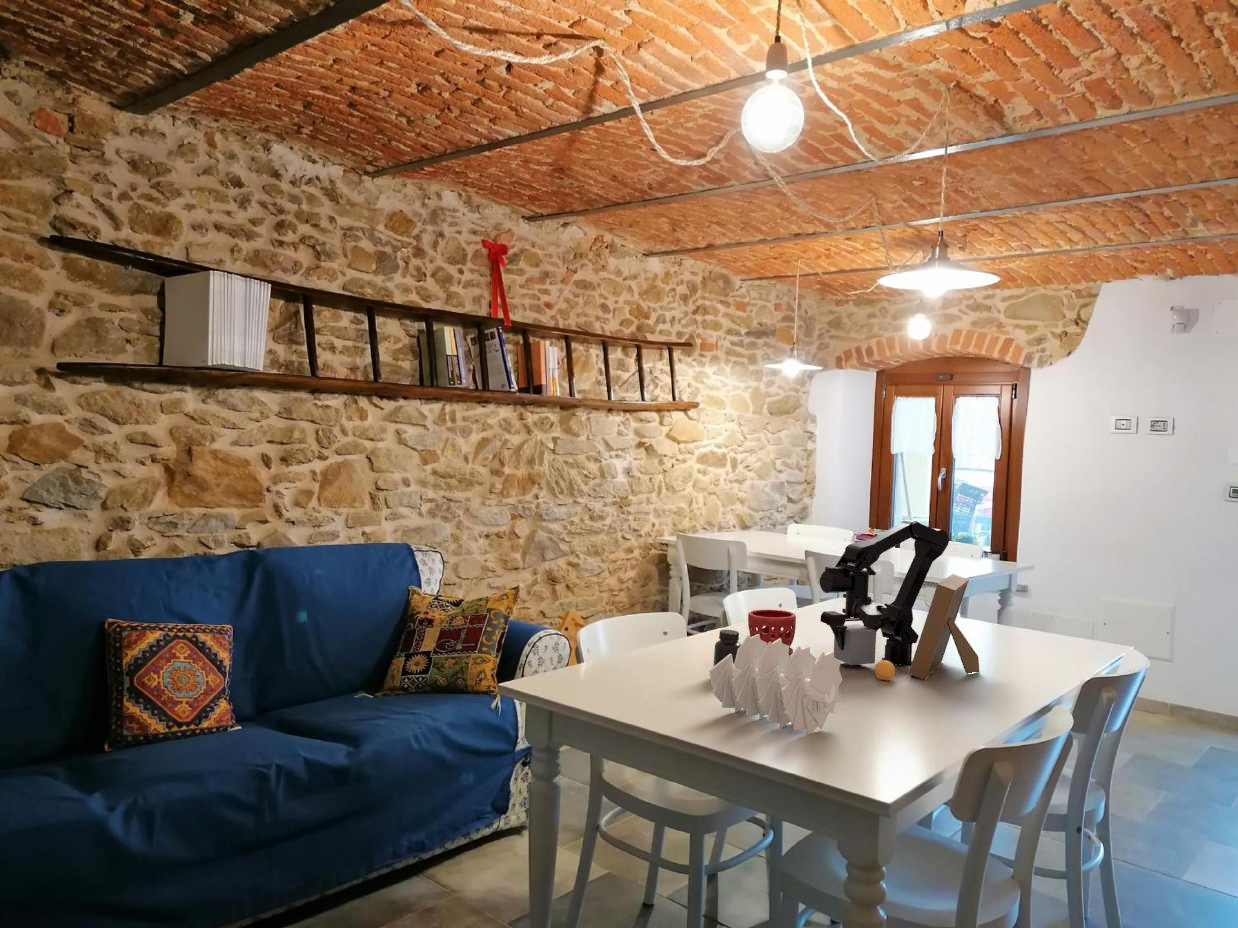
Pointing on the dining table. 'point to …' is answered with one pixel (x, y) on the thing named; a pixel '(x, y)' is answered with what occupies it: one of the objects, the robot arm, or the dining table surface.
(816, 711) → the spiral staircase
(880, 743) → the dining table surface
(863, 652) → the grey block
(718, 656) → the supplement bottle
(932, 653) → the photo frame
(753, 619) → the plant pot
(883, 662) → the ball
